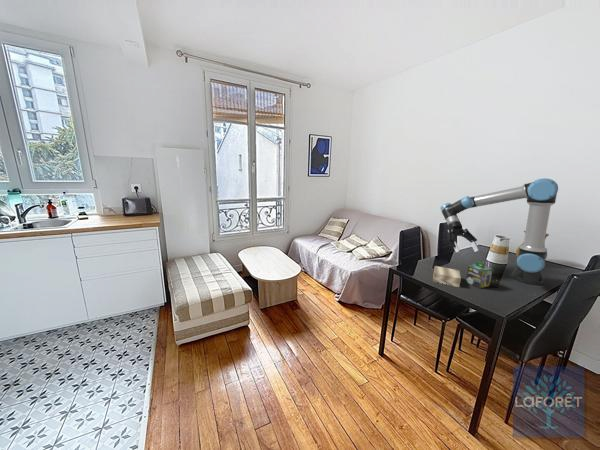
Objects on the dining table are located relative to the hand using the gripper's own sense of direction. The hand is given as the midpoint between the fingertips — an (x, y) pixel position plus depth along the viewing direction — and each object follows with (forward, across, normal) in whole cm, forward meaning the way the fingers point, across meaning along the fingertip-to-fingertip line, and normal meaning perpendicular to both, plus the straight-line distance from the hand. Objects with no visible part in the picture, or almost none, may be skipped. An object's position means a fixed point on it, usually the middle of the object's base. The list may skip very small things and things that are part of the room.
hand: (467, 251), depth 156 cm
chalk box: (+20, 0, -5) cm, 21 cm away
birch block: (+15, +15, -10) cm, 24 cm away
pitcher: (0, -73, -25) cm, 77 cm away
